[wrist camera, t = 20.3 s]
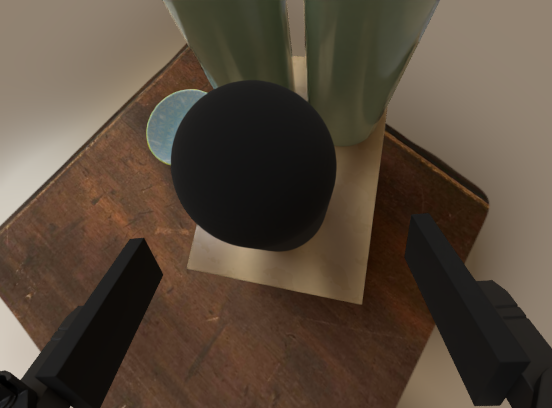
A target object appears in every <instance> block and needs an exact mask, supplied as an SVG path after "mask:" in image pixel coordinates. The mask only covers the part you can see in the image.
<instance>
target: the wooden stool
mask: <svg viewBox="0 0 552 408" xmlns="http://www.w3.org/2000/svg"><path fill="white" fill-rule="evenodd" d="M292 59H293V69H294V79H295V89H296V93H297V94H298V95H300V96H301V97H302V98H304V99H305V100H306V101H307V90H306V61H305V57H299V56H292ZM386 114H387V108H386V110H385V112H384V114H383V116H382V118H381V120H380V122H379V124H378V126H377V127H376V129H375V131H374V132H373V133H372V134H371V135H370V136H369V137H368V138H367V139H366V140H364V141H362V142H360V143H358V144H356V145H352V146H344V147H342V146H334V147H335V153H336V162H337V172H336V180H335V186H334V189H333V193H332V196H331V199H330V202H329V206H328V209H327V212H326V215H325V218H324V221H323V223H322V225H321V227H320V229H319V230H318V232H317V233H316V234H315V235H314V237H313V238H311V239H310V240H309V241H308V242H307V243H305V244H304V245H302V246H300V247H298V248H295V249H293V250H289V251H282V252H274V251H266V250H259V249H251V248H244V247H238V246H234V245H231V244H228V243H225V242H223V241H221V240H219V239H217V238H215V237H213V236H212V235H210V234H208V233H207V232H206V231H204V230H203V229H202V228H201V227H200V226H199V225H197V226H196V230H195V234H194V239H193V243H192V248H191V252H190V256H189V261H188V265H187V269H190V270H195V271H200V272H205V273H210V274H215V275H219V276H224V277H229V278H234V279H239V280H244V281H248V282H253V283H258V284H263V285H268V286H273V287H277V288H282V289H287V290H292V291H297V292H302V293H307V294H311V295H316V296H321V297H326V298H331V299H336V300H340V301H345V302H350V303H355V304H360V305H362V300H363V293H364V285H365V277H366V269H367V262H368V254H369V246H370V238H371V231H372V223H373V215H374V207H375V200H376V192H377V184H378V176H379V169H380V161H381V153H382V145H383V137H384V130H385V122H386Z"/></svg>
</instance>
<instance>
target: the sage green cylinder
mask: <svg viewBox="0 0 552 408" xmlns="http://www.w3.org/2000/svg"><path fill="white" fill-rule="evenodd" d="M439 1H440V0H304V30H305V61H306V90H307V102H308V103H309V104H311V106H312V107H313V108H314V109H315V110H316V111H317V112H318V114H319V115H320V116H321V118H322V119H323V121H324V122H325V124H326V126H327V128H328V130H329V132H330V135H331V137H332V140H333V143H334V146H342V147H344V146H352V145H356V144H358V143H360V142H362V141H364V140H366V139H367V138H368V137H369V136H370V135H371V134H372V133H373V132H374V131H375V129H376V127H377V126H378V124H379V122H380V120H381V118H382V116H383V114H384V112H385V110H386V108H387V106H388V104H389V101H390V100H391V98H392V96H393V93H394V91H395V90H396V87H397V85H398V83H399V81H400V79H401V77H402V75H403V73H404V71H405V69H406V67H407V65H408V63H409V61H410V59H411V57H412V55H413V53H414V51H415V49H416V47H417V45H418V43H419V41H420V39H421V37H422V35H423V33H424V31H425V29H426V27H427V25H428V23H429V21H430V19H431V17H432V15H433V13H434V11H435V9H436V7H437V5H438V3H439Z"/></svg>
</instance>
